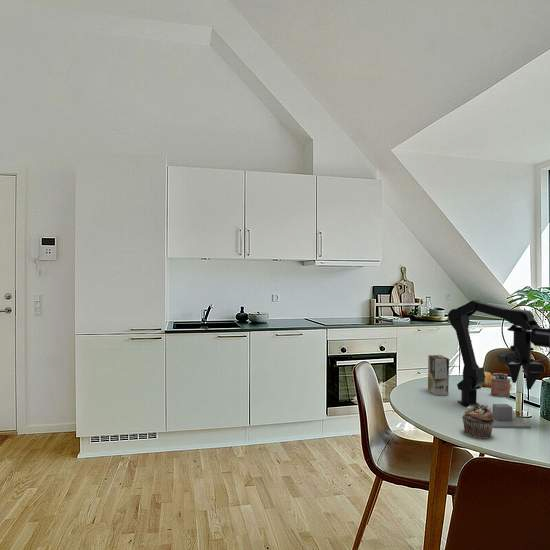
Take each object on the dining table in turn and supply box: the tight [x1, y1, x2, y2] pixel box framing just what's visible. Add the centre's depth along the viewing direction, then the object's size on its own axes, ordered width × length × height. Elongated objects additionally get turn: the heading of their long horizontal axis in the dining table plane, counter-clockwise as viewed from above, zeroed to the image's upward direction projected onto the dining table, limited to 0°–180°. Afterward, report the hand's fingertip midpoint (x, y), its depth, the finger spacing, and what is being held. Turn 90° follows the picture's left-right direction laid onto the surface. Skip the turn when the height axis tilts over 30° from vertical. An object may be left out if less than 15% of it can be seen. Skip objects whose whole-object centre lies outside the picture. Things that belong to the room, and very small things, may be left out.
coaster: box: [491, 412, 532, 429], centre depth 156 cm, size 13×13×1 cm
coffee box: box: [427, 354, 450, 396], centre depth 193 cm, size 9×6×16 cm
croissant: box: [481, 370, 513, 389], centre depth 207 cm, size 21×10×8 cm, turn 52°
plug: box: [492, 403, 517, 421], centre depth 156 cm, size 4×7×5 cm, turn 91°
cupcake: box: [461, 402, 494, 439], centre depth 143 cm, size 10×10×10 cm
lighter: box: [490, 372, 511, 398], centre depth 189 cm, size 8×3×10 cm, turn 84°
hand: (521, 385), depth 160 cm, fingers open, 9 cm apart
